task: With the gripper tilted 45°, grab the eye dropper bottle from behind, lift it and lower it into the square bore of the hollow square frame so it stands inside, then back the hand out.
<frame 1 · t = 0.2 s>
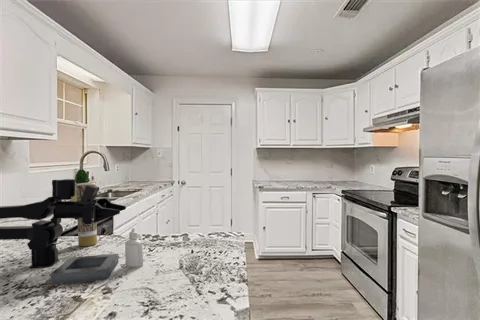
hand: (122, 209, 104), 17 cm above the countertop, tool horizontal, fingers open, 9 cm apart
brown tall cylinder: (87, 245, 123), on the countertop
eye dropper bottle: (134, 266, 96), on the countertop
hollow square frame: (87, 272, 91), on the countertop
potted cactus: (82, 210, 216), on the countertop
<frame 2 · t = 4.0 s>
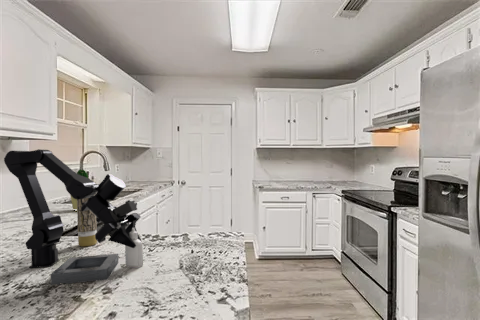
hand: (137, 245, 96), 7 cm above the countertop, tool tilted 45°, fingers closed on eye dropper bottle, 4 cm apart
eye dropper bottle: (134, 266, 96), on the countertop, touching gripper
everything else where it was.
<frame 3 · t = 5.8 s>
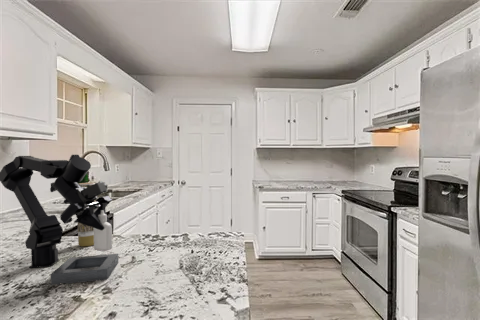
hand: (106, 227, 93), 13 cm above the countertop, tool tilted 45°, fingers closed on eye dropper bottle, 4 cm apart
eye dropper bottle: (103, 250, 93), point 6 cm above the countertop, touching gripper
everything else where it was.
when the fingers open (8 cm above the countertop, at t = 7.6 s): eye dropper bottle drops 2 cm, resting in hollow square frame.
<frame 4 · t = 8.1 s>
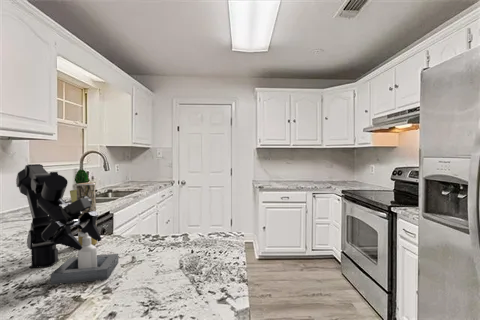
hand: (91, 244, 91), 9 cm above the countertop, tool tilted 45°, fingers open, 9 cm apart
eye dropper bottle: (87, 273, 91), resting in hollow square frame
everything else where it was.
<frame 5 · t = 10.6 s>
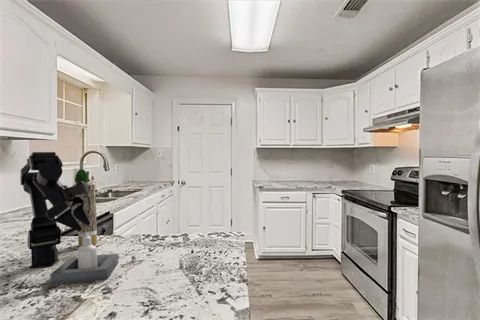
hand: (85, 227, 96), 13 cm above the countertop, tool tilted 35°, fingers open, 9 cm apart
nothing on the countertop moved.
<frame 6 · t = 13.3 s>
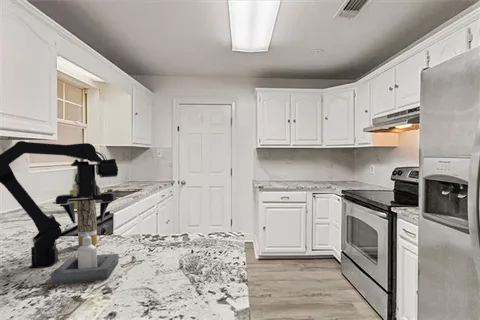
hand: (87, 222, 108), 12 cm above the countertop, tool pointing down, fingers open, 9 cm apart
nothing on the countertop moved.
at the end: eye dropper bottle 0.0 cm off-centre on the hollow square frame, point 0.0 cm above the hollow square frame's base; eye dropper bottle tilted 0°; the gripper is holding nothing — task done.
